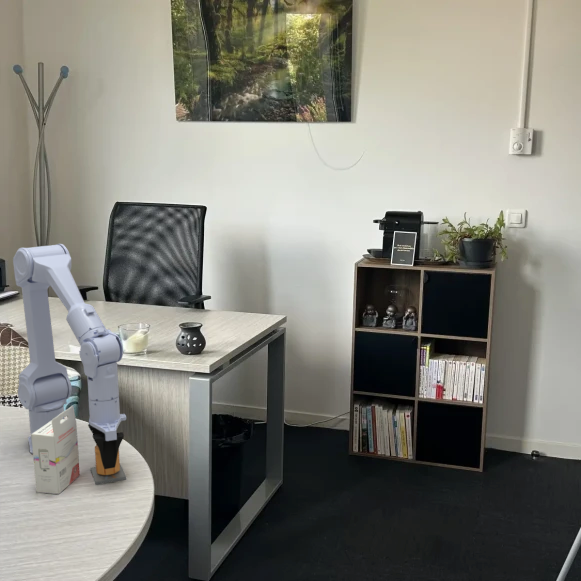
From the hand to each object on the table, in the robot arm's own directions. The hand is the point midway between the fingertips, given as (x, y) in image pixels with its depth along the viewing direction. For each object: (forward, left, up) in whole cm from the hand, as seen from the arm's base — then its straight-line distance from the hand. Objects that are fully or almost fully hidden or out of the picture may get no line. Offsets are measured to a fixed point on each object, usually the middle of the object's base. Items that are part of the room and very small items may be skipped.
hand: (107, 462), depth 144 cm
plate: (0, 0, -3) cm, 3 cm away
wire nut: (0, 0, -2) cm, 2 cm away
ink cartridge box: (0, -9, -3) cm, 10 cm away
